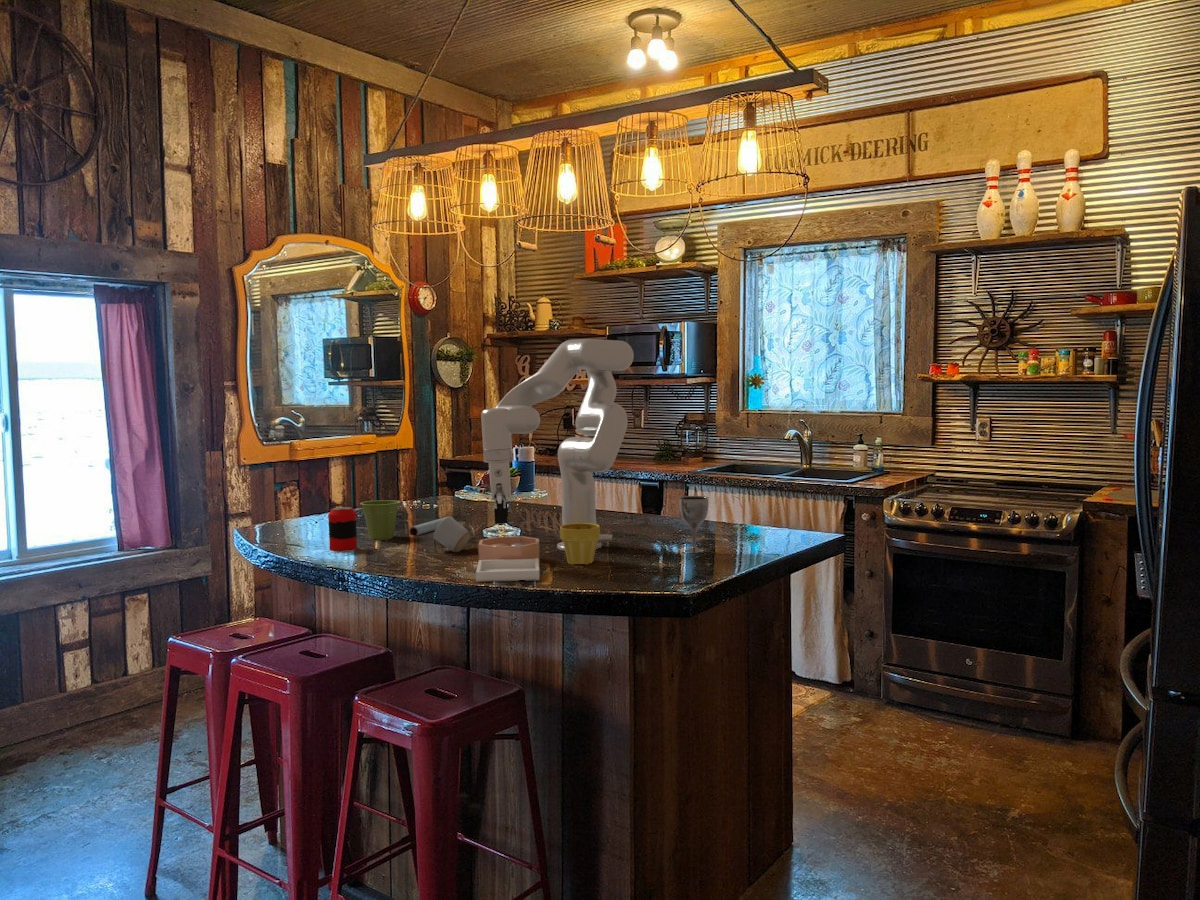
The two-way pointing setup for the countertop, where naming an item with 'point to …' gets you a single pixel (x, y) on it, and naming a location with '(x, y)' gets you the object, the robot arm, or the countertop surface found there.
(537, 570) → the parts tray
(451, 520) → the ceramic mug
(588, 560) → the plant pot
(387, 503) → the plant pot
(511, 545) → the slate pebble
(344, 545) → the soda can
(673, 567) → the countertop surface
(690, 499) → the wine glass
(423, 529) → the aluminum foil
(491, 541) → the bowl
